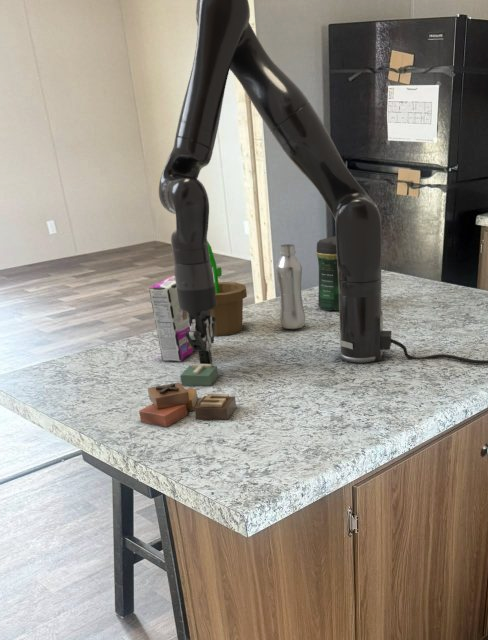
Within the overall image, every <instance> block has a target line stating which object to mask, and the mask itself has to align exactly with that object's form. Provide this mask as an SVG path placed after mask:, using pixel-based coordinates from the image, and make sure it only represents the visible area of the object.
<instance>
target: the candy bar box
mask: <svg viewBox="0 0 488 640" xmlns="http://www.w3.org/2000/svg"><path fill="white" fill-rule="evenodd" d="M148 291H149V297H150V301H151V307H152V313H153V318H154V322H155V323H154V324H155V329H156V333H157V340H158V345H159V349H160V355H161V361H162V362H163V361H164V362H178V363H179V362H180V363H181V362H183V361H184V360H186V359H187V358H188V357H189V356H191V355H192V354H193V353H194V352H195V351H194V350H193V348H192V346H191V345H190V343H189V341H188V339H187V337H186V331H190V327H189V324H188V319H189V313H188V312H187V311H183V310H181V309H180V307H179V300H178V294H177V287H176V280H175V275H172V276H169V277H167V278H165V279H163V280H161V281H160V282H157V283H156V284H154V285H152V286H150V287H148Z"/></svg>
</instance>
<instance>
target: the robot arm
mask: <svg viewBox="0 0 488 640" xmlns="http://www.w3.org/2000/svg"><path fill="white" fill-rule="evenodd" d="M249 3H250V2H249V0H196V6H195V20H196V24H197V33H196V45H195V51H194V57H193V62H192V67H191V71H190V76H189V80H188V83H187V86H186V90H185V93H184V98H183V101H182V106H181V110H180V114H179V118H178V122H177V127H176V131H175V136H174V143H173V147H172V149H171V152H170V154H169V156H168V157H167V161H166V163H165V165H164V167H163V170H162V172H161V176H160V179H159V183H158V198H159V199H158V200H159V202H160V204H161V206H162V207H163V208H164V209H165V211H167V212H169V213H171V214H174V215H175V225H176V226H175V228H176V229H175V230H174V231H172V233H171V234H170V244H171V245H170V246H171V250H172V258H173V259H172V260H173V267H174V276H175V280H176V287H177V294H178V300H179V307H180V309H181V310H183V311H187V312H188V313H189V319H188V324H189V327H190V331H186V337H187V339H188V341H189V343H190V345H191V346H192V348H193V350H194V352H198V360H199V364H212V365H213V359H212V358H213V357H212V350H211V349H212V347H213V346H212V345H213V344H214V342H215V335H214V332H215V321H216V318H215V316H210V315H211V313H210V310H211V309H214V308H215V307H216V305H217V302H216V294H215V286H214V283H215V281H214V273H213V267H211V263H210V257H209V256H210V255H209V249H208V243H209V241H208V231H209V219H210V201H209V195H208V192H207V190H206V188H205V185H203V183H202V181H201V180H200V179H198V177H199V175H200V173H201V170H202V169H203V168H205V167H207V166H208V165H209V164H210V162H211V160H212V157H213V153H214V148H215V143H216V139H217V134H218V130H219V125H220V120H221V115H222V114H221V113H222V108H223V101H224V95H225V91H226V86H227V82H228V77H229V74H230V71H231V73H232V75H234V76H235V78H236V79H237V81H238V82H239V83H240V85H241V87H242V88H243V89H244V91H245V94H246V95H247V97H248V98H249V100H250V102H251V103H252V105H253V107H254V108H255V110H256V111H257V113H258V115H259V116H260V118H261V119H262V121H263V123H264V124H265V126H266V127H267V129H268V131H269V132H270V133H271V135H272V137H273V138H274V139H275V141H276V143H278V145H279V147H280V148H281V150H283V152H284V154H285V155H286V156H287V157H288V158H289V160H290V161H291V162H292V163H293V164H294V165H295V167H296V168H297V169H298V170H299V171H300V172H301V173H302V174H303V175H304V176H305V177H306V178H307V179H308V181H309V182H311V184H312V185H313V186H314V187H315V188H316V190H317V191H318V192H319V194H320V195H321V197H322V199H323V201H324V202H325V205H326V206H327V208H328V209H329V212H331V214H332V216H333V218H334V221H335V223H334V224H335V236H336V250H337V269H338V291H339V310H338V313H339V317H338V318H339V346H340V352H339V353H340V359H341V360H343V361H345V362H349V363H353V364H354V363H355V364H356V363H357V364H362V363H363V364H365V363H372V362H381V361H382V358H383V355H384V351H390V350H391V347H392V344H394V345H396V346H398V347H400V348H401V349H402V350H403V355H404V357H406V358H407V359H409V360H434V359H449V360H450V359H451V360H455V361H460V362H464V363H469V364H475V365H477V364H478V365H488V359H487V360H485V359H484V360H483V359H472V358H467V357H463V356H458V355H453V354H446V353H445V354H443V353H439V354H431V355H427V356H420V357H419V356H413V355H411V354H409V353H408V350H407V347H406V346H405V345H404V344H403V343H402V342H400V341H398V340H395V339H392V330H384V329H383V328H384V327H383V324H384V323H383V322H384V320H383V315H384V313H383V310H382V262H383V261H382V256H383V255H382V217H381V213H380V210H379V207H378V206H377V203H376V202H375V201H374V200H373V199H372V198H371V197H370V196H369V195H368V193H367V192H366V191H365V189H364V188H363V187H362V186H361V185H360V183H359V182H358V181H357V179H356V178H355V177H354V176H353V174H352V173H351V171H350V170H349V168H348V167H347V166H346V164H345V162H344V160H343V159H342V156H341V154H340V152H339V151H338V149H337V146H336V145H335V143H334V140H333V139H332V137H331V134H329V131H328V130H327V128H326V127H325V124H324V123H323V121H322V120H321V117H320V116H319V115H318V113H317V111H316V109H315V108H314V107H313V104H312V103H311V102H310V101H309V99H308V98H307V96H306V95H305V93H304V92H303V91H302V90H301V88H299V86H298V85H297V84H296V83H295V82H294V81H293V80H292V78H290V77H289V76H288V75H287V74H286V73H285V72H284V71H283V70H282V69H281V68H280V66H278V65H277V64H276V63H275V62H274V61H273V60H272V58H271V57H270V55H268V53H267V51H266V49H265V48H264V47H263V45H262V43H261V42H260V40H259V38H258V36H257V35H256V33H255V31H254V29H253V27H252V26H251V25H252V24H251V23H250V18H251V17H250V16H251V10H250V9H251V8H250V4H249ZM207 241H208V242H207Z"/></svg>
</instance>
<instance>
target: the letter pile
mask: <svg viewBox="0 0 488 640" xmlns="http://www.w3.org/2000/svg"><path fill="white" fill-rule="evenodd" d="M147 393H148V398H149V400H150V402H151V403H152V404H150V405H148V406H146V407H144V408H141V409H139V411H138V414H139V418H140V419H139V420H140V422H141V423H145V424H150V425H154V426H160V427H164V428H168V427H170V426H171V425H173V424H175V423H176V422H178V421H181V420H182V419H184V418H185V417H187V416H188V412H193V411H195V407H196V406H197V402H198V391H197V388H185V387H184V385H182V383H181V382H179V381H178V382H173V383H172V382H171V383H168V384H162V385H157V386H153V387H148V388H147Z"/></svg>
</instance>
